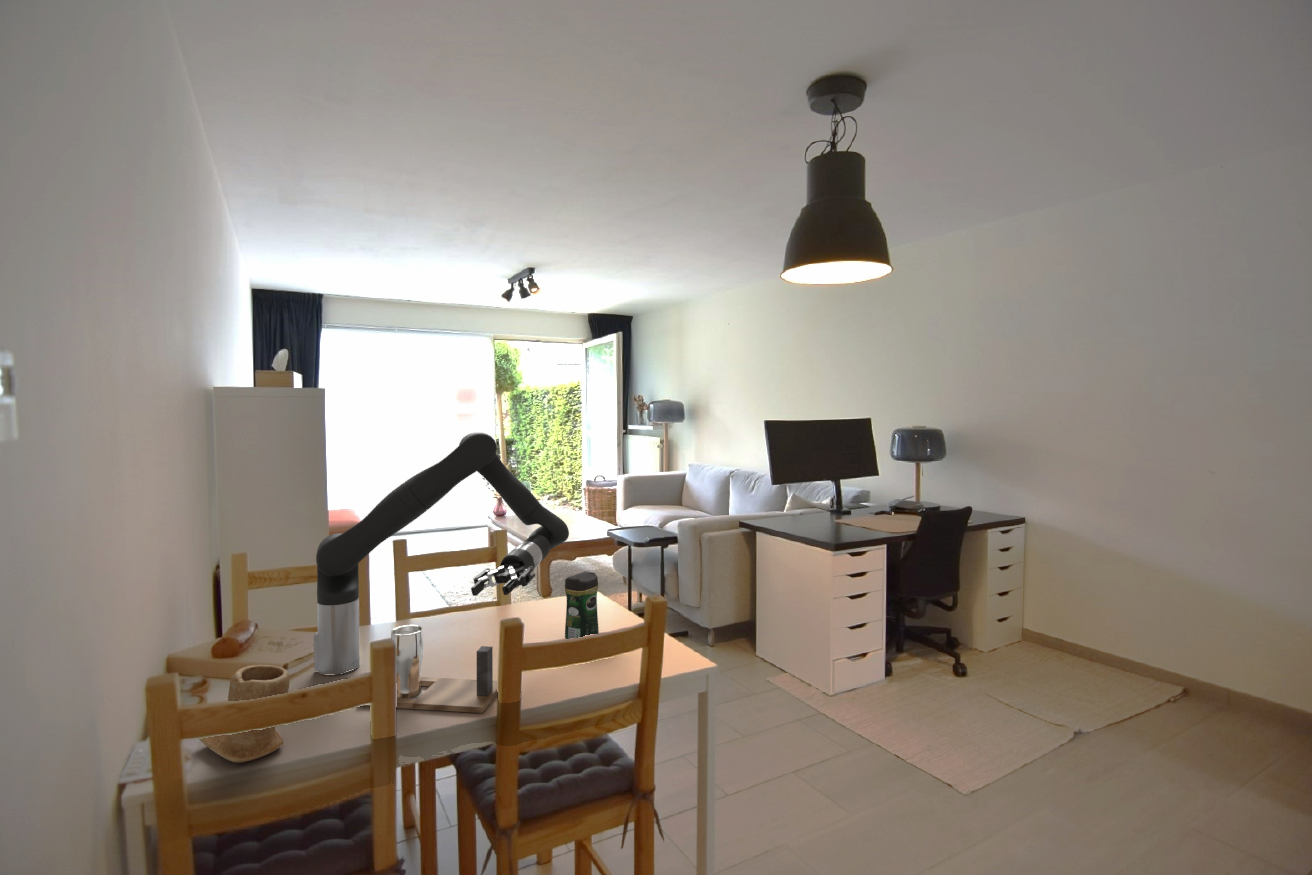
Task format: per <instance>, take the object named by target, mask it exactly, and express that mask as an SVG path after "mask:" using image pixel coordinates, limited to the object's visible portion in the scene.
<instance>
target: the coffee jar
mask: <svg viewBox="0 0 1312 875" xmlns="http://www.w3.org/2000/svg"><path fill="white" fill-rule="evenodd" d="M564 579H565V580H564V592H565V594H566V595H565V596H566V610H565V624H564V626H565V627H564V639H565V640H566V639H570V638H578V637H583V636H585V635H590V634H598V633H599V618H598V600H597V599H598V589H599V579H598V576H597V574H596V573H595V572H591V571H586V570H585V571H583V572H580V573H577V574H574V575H571V576H568V577H566V578H564ZM599 634H600V633H599ZM599 634H598V635H599Z"/></svg>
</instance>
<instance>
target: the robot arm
mask: <svg viewBox="0 0 1312 875" xmlns="http://www.w3.org/2000/svg"><path fill="white" fill-rule="evenodd" d="M497 452H498V446H497V442H496V440H495V439H494V438H493V436H491V435H489V434H488V433H484V432H479V431H478V432H472V433H468V434H466V435H465V436H463V438H461V440H460V441H459V444H458V446H457V447H456V448H455V449H453V451H451V452H450V453H449V454H448V455H446V456H445V457H444V458H443V459H441V460H440V461H439V462H437V463H435V464H433V465H432V466H430V467H427V468H426V469H424V470H422V471H420V472H418V473H417V474H415V475H413V476H412V477H410V478H408V479H407V480H405V481H404V482H403V483H401V484H400V485H398V486H397V487H396V488H394V489H393V490H392V491H391V492H389V493H388V494H387V495H386V496H385V497H384V498H383V499H382V500H381V501H379V502H378V503H377V504H376V505H375V507H374V508H372V510H371V511H370V512H369V513H368V514H367V515H366V516H364V518H363V519H362V520H360V521H358V522H357V523H356V524H355V525H353V526H352V527H350V528H349V529H347V530H346V531H344V532H342V533H339V532H338V533H333V534H329V535H328V536H326V537H325V538H323V539H322V541H320V543H319V545H318V547H317V551H316V555H315V557H316V558H315V562H316V572H317V573H316V575H317V576H316V578H317V579H316V580H317V581H316V585H317V587H316V603H317V604H316V605H317V606H316V610H317V612H316V613H317V619H316V620H317V631H316V632H314V634H313V672H314V671H318V672H319V673H318V672H317V673H318V674H320V673H321V674H320V675H322V674H340V675H342V674H341V673H344V672H346V671H349V670H352V669H355V670H357V669H358V668H359V667H360V659H361V658H360V582H359V581H360V580H359V563H361V562H362V560H363V559H365V558H366V557H367V556H368V555H369V554H370V553H371V552H373V550H374V549H375V548H376V547H378V546H379V545H380V544H382V543H383V542H385V541H386V540H387V539H389V538H390V537H392V536H393V535H395V534H397V533H398V532H399V531H401V530H402V529H404V528H406V527H407V526H408V525H410V524H412V522H414V521H415V520H416V519H418V518H419V517H420V516H422V515H423V514H424V513H426V512H427V511H428V510H429V509H431V508H432V507H433V506H435V504H437V503H438V502H439V501H440V500H442V499H443V498H444V497H445V496H446V495H447V494H448V493H449V492H450V491H452V490H453V489H454V488H455V487H456V486H457V485H458V484H460V483H461V482H462V481H464V480H465V479H467V478H468V477H470V476H471V475H473V474H475V473H476V472H477V473H478V474H480V475H481V476H482V477H483V478H484V479H485V480H486V482H488V483H489V484H490V485H491V487H492V488H493V489H494V490H495V491H496V492H497V494H498V495H499V496H500V497H501V499H502V500H503V501H504V502H505V504H506V505H507V506H508V507H509V508H510V510H511V511H512V512H513V513H514V514H515V516H516V517H517V518H518V519H519V520H520V522H521V523H522V524H524V525H525V526H532V525H540V526H539V527H538V528H536V529H535V530H533V531H532V532H531V533H530V535H529V536H528V538H526V539H525V540H524V541H523V542H522V543H520V544H518V545H517V546H516V547H515V548H513V549H512V550H511V551H510V552H509V553H508V554H507V555H505V556H504V557H503V558H502V560H501V562H500V565H499V567H497V568H496V569H494V570H491V569H490V568H489V567H487V568H486V567H485V568H484V570H482V571H481V572H480V573H479V574H477V575H475V576H474V577H473V586H471V588H470V591H471V595H472V597H476V596H478V595H479V594H480V593H481V592H483V590H484V589H486V588H489V587H491V588H494V587H496V586H498V585H500V584H504V585H502V587H501V589H502V594H503V595H504V596H509V594H510V593H512V592H513V591H514V590H515V589H518V588H519V587H520V586H522V587H523V588H525V587H527V586H528V584H530V583H531V581H533V579H534V578H535V577H536V573H535V570H536V569H537V567H538V566H539V565H540V563H541V562H542V561H544V559H545V558H546V557H548V555H549V553H550V550H551V549H554V548H556V547H558V546H559V545H561V544H563V543H565V542H566V541H567V540H568V539H569V536H570V531H569V527H568V525H567V524H566V522H565V521H564V520H563V519H562V518H561V517H559V516H558V515H556V514H554V512H551V511H550V510H549V509H547V508H546V507H544V506H543V505H542V504H541V502H540V501H539V500H538V498H536V497H535V496H534V494H533V493H532V492H531V491H530V489H528V488H527V487H526V486H525V485H524V484H523V483H522V482H521V481H520V480H519V479H518V478H517V477H516V476H515V475H514V474H513V473H512V472H511V471H510V470H509V469H508V468H507V467H506V465H505V464H504V463H503V462H502V460H501V459H500V457H499V456H498V454H497ZM493 578H494V582H493ZM356 668H357V669H356Z"/></svg>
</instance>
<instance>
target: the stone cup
mask: <svg viewBox="0 0 1312 875" xmlns="http://www.w3.org/2000/svg"><path fill="white" fill-rule="evenodd" d="M290 678H291V677H290V673H289V671H288V670H287V669H286V668H284V667H280V666H277V665H270V664H269V665H266V664H255V665H254V664H253V665H247V666H244V667H242V668H239V669H238V670H237V671H236V672H235V673H234V674H233V676H232V677H231V678H230V682H229V687H228V696H227V702H228V701H239V700H250V699H257V698H262V697H267V696H272V695H277V694H284V693H287V694H288V693H289V689H290ZM198 740H199V741H200V742H201V743H202V744H203V745H204V746H205V747H207V748H208V749H209V750H211V751H212V752H214V753H215V754H217V755H218V756H220V757H222V758H223V759H225V760H228V761H229V762H233V763H237V764H239V763H245V762H250V761H255V760H257V759H259V758H262V757H265V756H267V755H269V754H271V753H273V752H275V751H276V750H278V749H279V748H281V747H282V746H283V744H284V740H283V737H282V736H281V735H280V733H279V732H278V731H277V730H276V726H275V727H271V728H266V729H263V730H251V731H248V732H242V733H237V734H232V735H221V736H214V737H208V738H203V739H199V738H198Z"/></svg>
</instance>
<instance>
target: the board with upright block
mask: <svg viewBox="0 0 1312 875" xmlns="http://www.w3.org/2000/svg"><path fill="white" fill-rule="evenodd" d="M493 662H494V661H493V646H485V645H481V646H480V647H479V648H478V649H477V650H476V679H470V678H468V679H467V678H451V677H450V678H449V677H448V678H447V677H435V676H434V677H431V676H429V677H427V676H420V685H421V687H428V688H427V689H426V690H425V691H424V692H422V694H421V696H420V697H418V698H416V699H407V698H397V708H396V709H412V710H426V711H427V710H428V711H443V712H463V713H475V714H476V713H478V714H479V713H480V714H482V713H484V712H485V710H486V709H487V708H488V707H489V705H490V704H491V703H492V702H493V701H494V699H495V697H497V695H498V694H497V681H498V680H493V678H494V677H493V671H494V670H493V669H494V668H493V666H494V665H493ZM364 707H371V706H370V705H365V706H364Z"/></svg>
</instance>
